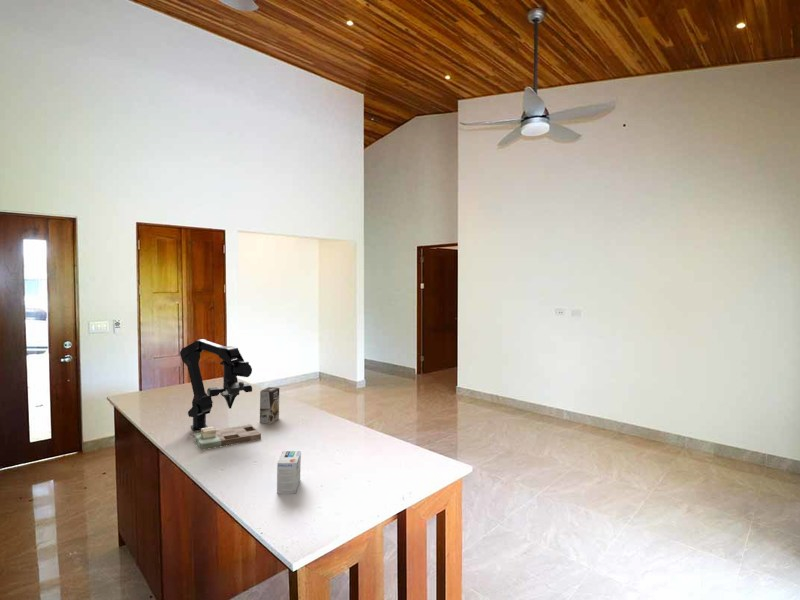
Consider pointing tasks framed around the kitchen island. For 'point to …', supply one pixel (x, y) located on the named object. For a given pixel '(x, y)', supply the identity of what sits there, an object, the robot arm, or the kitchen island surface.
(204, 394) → the robot arm
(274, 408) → the coffee box
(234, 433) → the board
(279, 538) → the kitchen island surface
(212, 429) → the block
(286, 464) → the light bulb box
